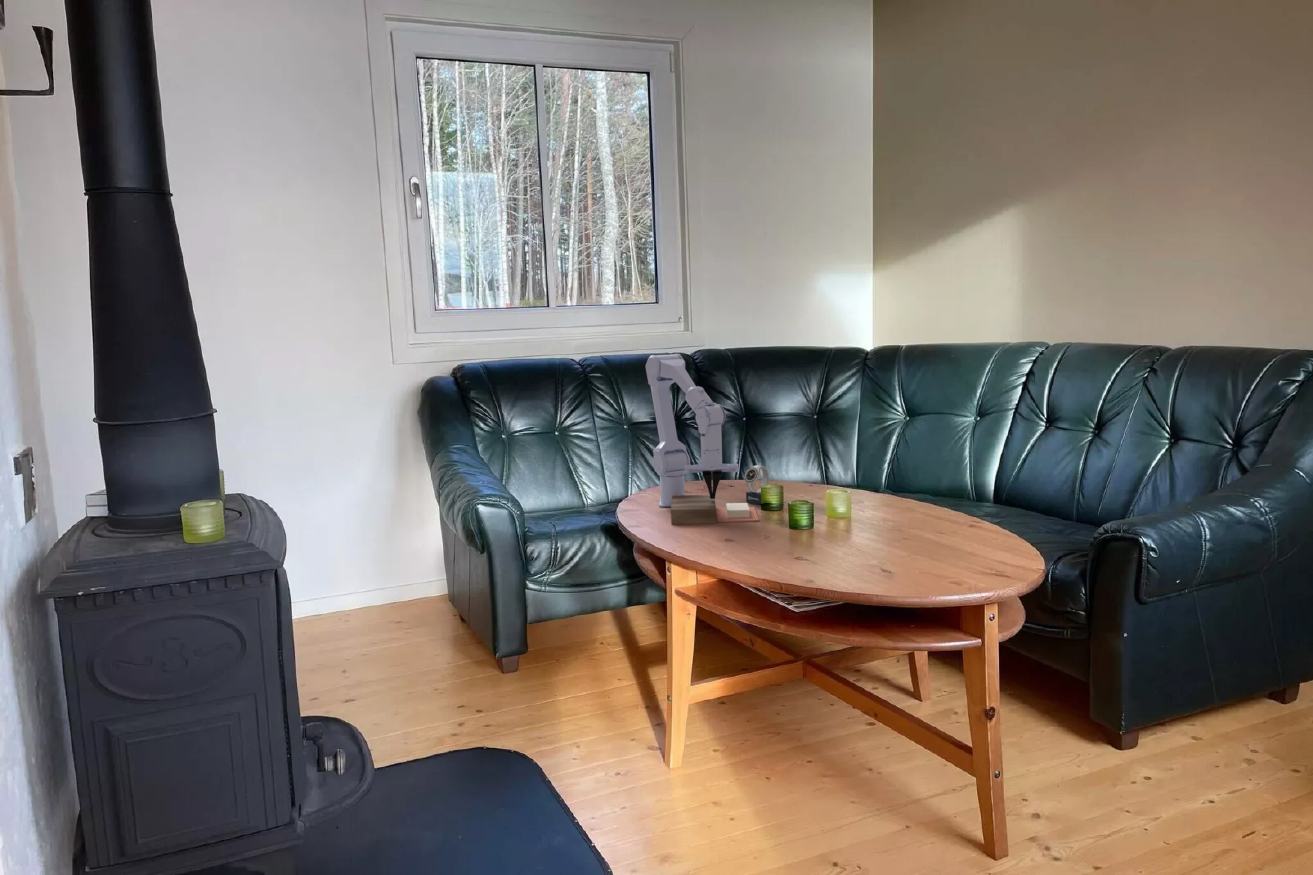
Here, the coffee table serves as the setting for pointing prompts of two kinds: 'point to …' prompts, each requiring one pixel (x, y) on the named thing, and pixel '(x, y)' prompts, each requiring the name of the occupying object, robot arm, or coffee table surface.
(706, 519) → the brown wooden block
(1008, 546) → the coffee table surface
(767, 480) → the watch
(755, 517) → the mat
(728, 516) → the tile
